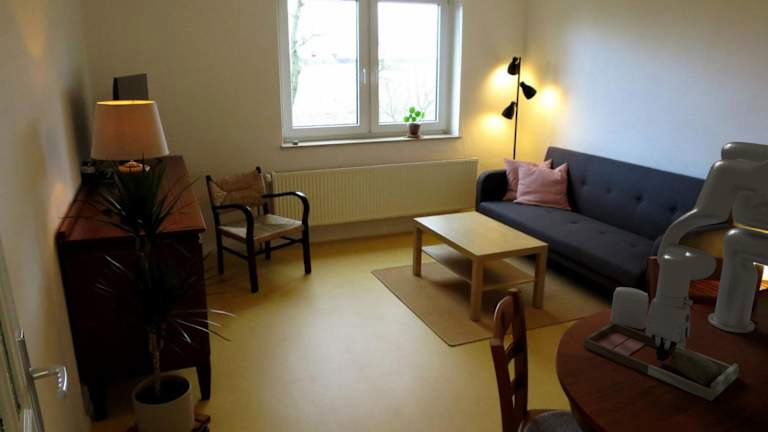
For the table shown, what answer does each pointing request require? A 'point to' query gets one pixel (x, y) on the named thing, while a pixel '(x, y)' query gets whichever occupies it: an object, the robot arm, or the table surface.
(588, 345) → the frame
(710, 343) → the table surface
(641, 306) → the photo printer
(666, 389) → the table surface
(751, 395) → the table surface
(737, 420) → the table surface
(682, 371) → the stone block
